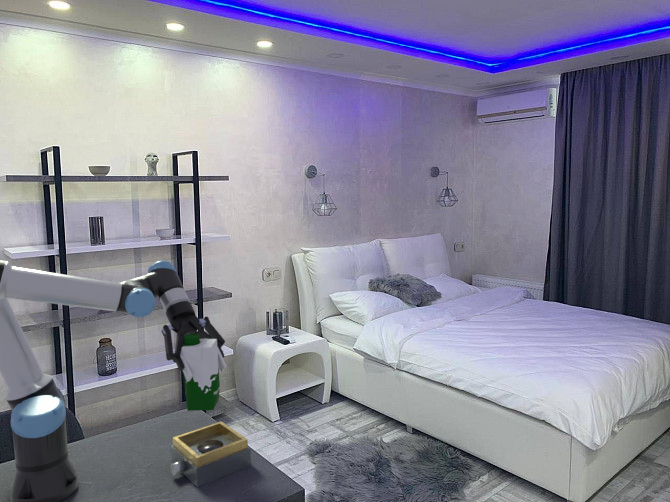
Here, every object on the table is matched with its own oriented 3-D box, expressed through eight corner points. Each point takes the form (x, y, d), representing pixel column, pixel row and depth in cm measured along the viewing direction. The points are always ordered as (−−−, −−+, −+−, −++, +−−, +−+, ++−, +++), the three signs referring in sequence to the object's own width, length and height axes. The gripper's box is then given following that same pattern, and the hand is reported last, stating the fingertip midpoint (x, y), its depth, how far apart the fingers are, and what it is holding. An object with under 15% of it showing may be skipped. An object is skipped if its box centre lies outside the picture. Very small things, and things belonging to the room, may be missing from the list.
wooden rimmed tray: (185, 491, 132) (184, 463, 131) (160, 466, 144) (159, 441, 143) (251, 465, 144) (250, 439, 143) (223, 444, 156) (221, 420, 155)
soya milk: (191, 398, 149) (187, 331, 146) (223, 398, 149) (219, 330, 147) (182, 412, 141) (178, 341, 138) (216, 411, 141) (212, 340, 138)
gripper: (208, 308, 160) (238, 370, 151) (136, 322, 146) (164, 392, 136) (216, 293, 156) (247, 357, 146) (143, 306, 141) (172, 377, 132)
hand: (207, 373), depth 141 cm, fingers closed on soya milk, 9 cm apart
